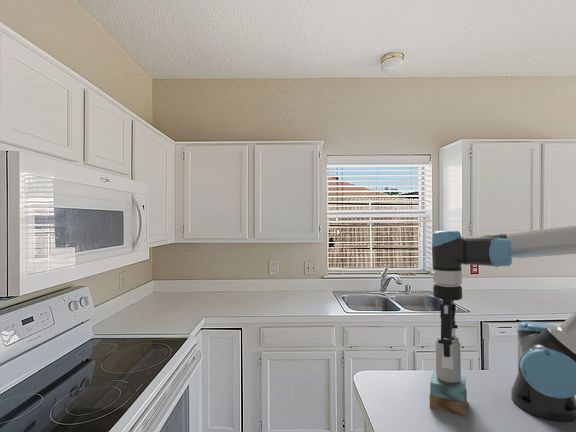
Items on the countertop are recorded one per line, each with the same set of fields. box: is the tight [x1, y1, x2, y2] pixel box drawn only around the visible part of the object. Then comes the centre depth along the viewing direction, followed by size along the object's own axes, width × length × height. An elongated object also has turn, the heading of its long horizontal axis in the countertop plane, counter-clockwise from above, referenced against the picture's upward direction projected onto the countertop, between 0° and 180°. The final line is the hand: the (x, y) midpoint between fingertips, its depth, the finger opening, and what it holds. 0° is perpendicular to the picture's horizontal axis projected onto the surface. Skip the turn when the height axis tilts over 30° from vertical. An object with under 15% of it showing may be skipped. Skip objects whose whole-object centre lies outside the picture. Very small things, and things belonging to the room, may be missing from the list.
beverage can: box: [435, 334, 462, 384], centre depth 95 cm, size 6×6×12 cm
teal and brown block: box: [429, 369, 468, 418], centre depth 95 cm, size 9×9×7 cm
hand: (449, 358), depth 95 cm, fingers open, 13 cm apart
